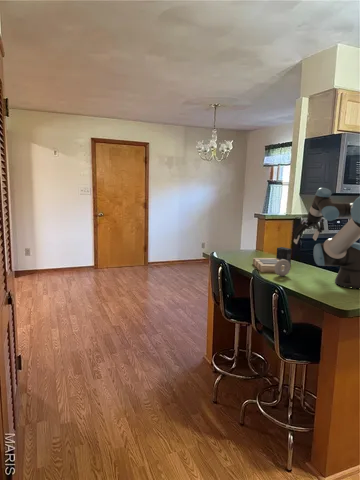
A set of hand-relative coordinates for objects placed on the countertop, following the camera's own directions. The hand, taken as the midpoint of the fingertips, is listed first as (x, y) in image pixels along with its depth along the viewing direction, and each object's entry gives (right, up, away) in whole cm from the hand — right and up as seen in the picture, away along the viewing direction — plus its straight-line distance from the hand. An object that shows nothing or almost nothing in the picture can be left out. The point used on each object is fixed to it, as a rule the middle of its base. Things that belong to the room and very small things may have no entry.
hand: (304, 240), depth 200 cm
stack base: (-20, -17, +5) cm, 27 cm away
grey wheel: (-18, -21, -12) cm, 30 cm away
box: (-8, -16, +18) cm, 25 cm away
